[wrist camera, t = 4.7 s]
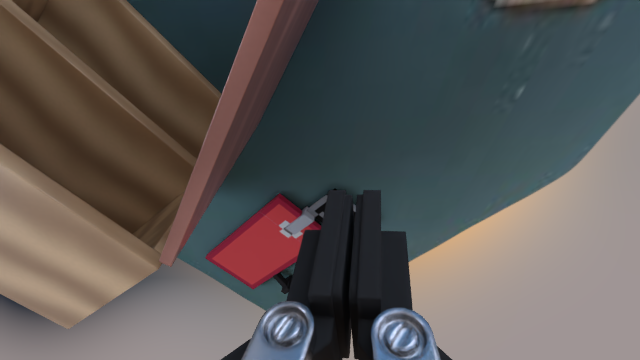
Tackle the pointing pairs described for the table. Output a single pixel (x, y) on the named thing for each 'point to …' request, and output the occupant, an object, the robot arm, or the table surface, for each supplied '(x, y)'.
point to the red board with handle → (268, 242)
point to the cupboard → (90, 150)
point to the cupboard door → (240, 107)
